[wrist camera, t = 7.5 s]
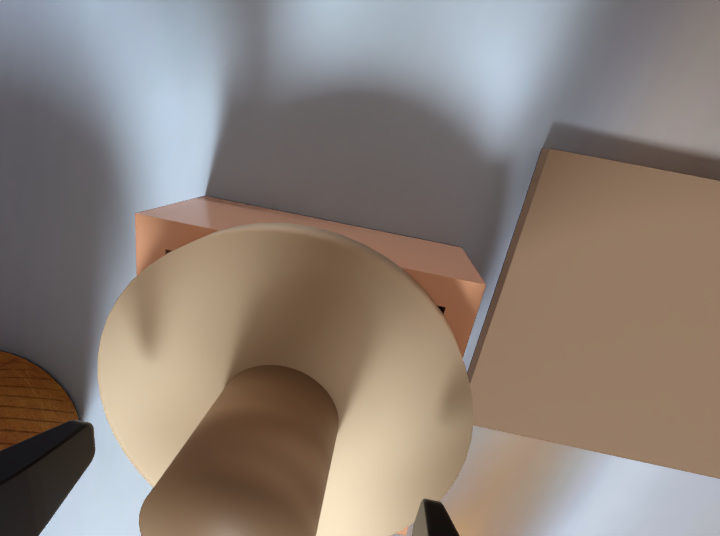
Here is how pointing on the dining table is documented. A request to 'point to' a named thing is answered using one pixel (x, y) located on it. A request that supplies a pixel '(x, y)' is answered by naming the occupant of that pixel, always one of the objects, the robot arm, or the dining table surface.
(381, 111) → the dining table surface
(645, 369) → the mat
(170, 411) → the lid
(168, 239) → the dish
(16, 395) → the disposable coffee cup
